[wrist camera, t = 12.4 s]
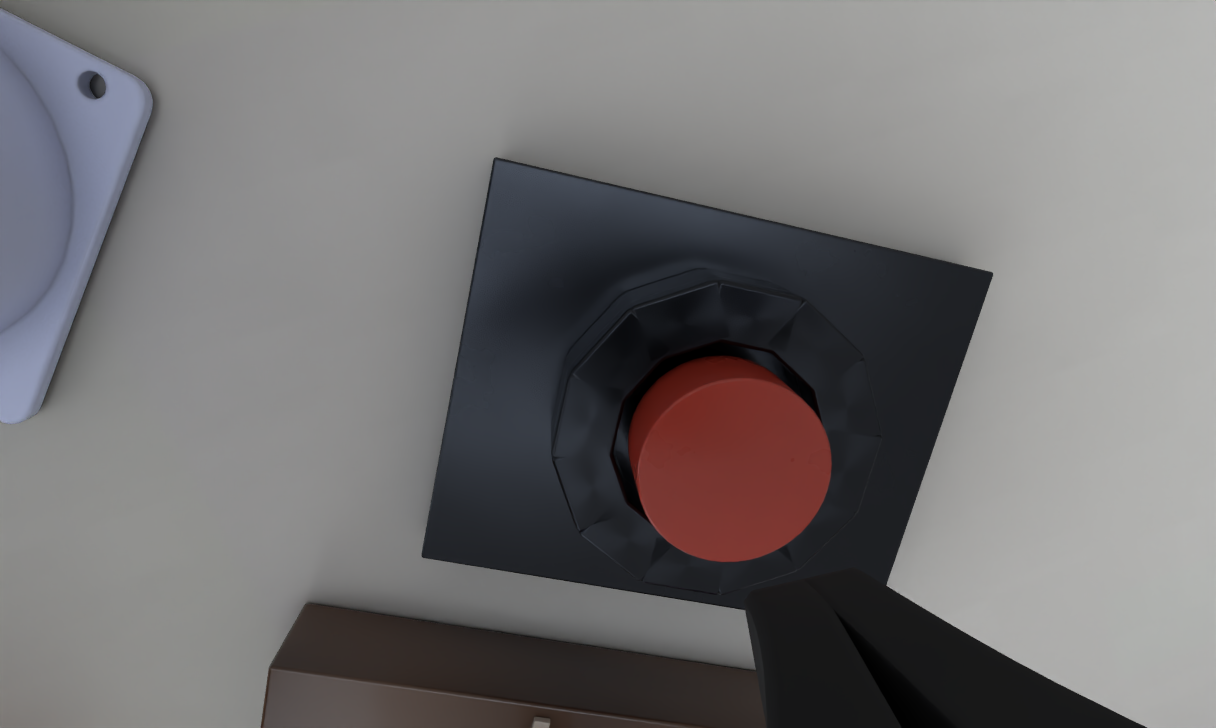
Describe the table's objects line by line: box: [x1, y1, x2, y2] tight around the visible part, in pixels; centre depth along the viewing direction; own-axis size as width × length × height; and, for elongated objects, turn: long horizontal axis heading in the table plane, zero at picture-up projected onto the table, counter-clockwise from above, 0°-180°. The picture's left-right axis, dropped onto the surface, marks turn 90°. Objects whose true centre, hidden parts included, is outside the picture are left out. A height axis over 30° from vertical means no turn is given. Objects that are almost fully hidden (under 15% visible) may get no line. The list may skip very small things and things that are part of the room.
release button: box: [628, 356, 832, 562], centre depth 14 cm, size 4×4×2 cm
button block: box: [422, 157, 993, 610], centre depth 16 cm, size 11×9×3 cm
